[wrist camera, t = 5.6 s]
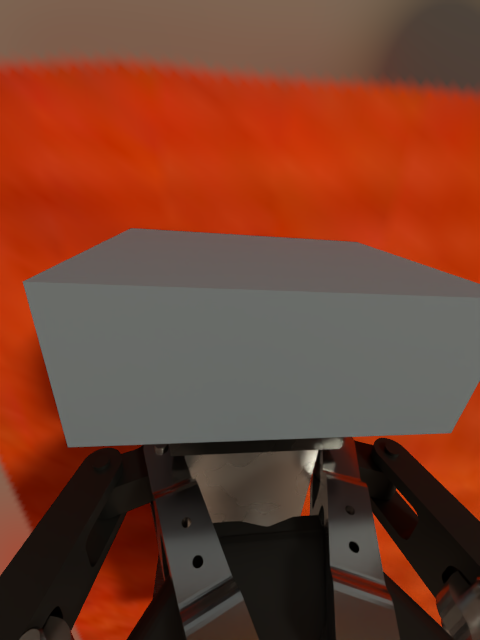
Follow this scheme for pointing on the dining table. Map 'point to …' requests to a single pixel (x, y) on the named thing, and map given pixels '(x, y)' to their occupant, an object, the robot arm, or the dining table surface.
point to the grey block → (252, 340)
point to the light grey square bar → (253, 476)
